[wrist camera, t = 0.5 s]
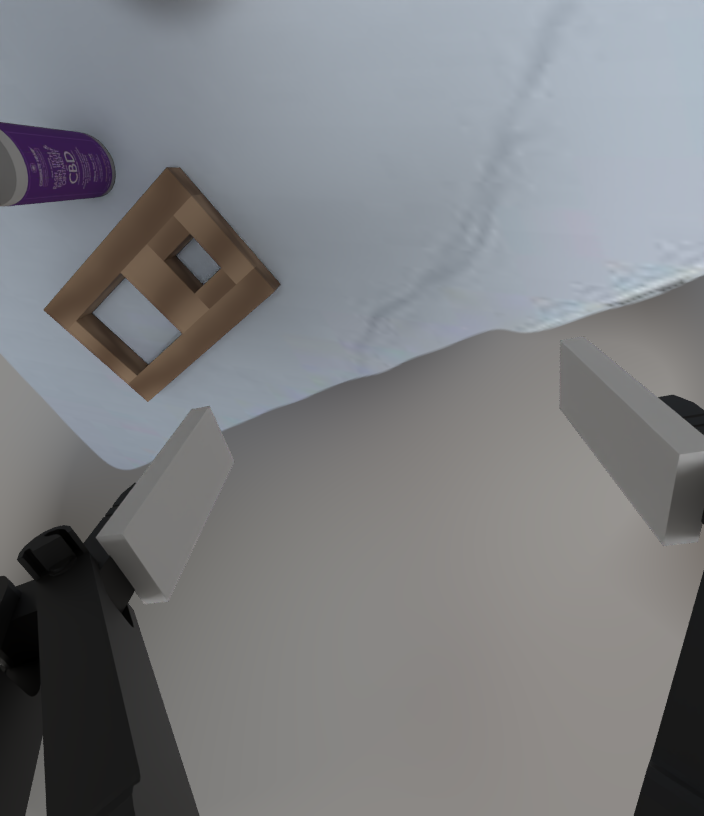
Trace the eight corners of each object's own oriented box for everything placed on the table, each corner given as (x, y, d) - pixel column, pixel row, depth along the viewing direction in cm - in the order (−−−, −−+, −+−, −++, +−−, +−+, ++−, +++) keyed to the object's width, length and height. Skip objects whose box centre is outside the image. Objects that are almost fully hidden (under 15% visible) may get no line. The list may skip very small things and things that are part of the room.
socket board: (61, 302, 41) (43, 309, 39) (180, 167, 35) (166, 167, 33) (159, 390, 45) (147, 401, 43) (280, 284, 39) (274, 291, 37)
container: (127, 183, 36) (-19, 190, 22) (83, 206, 37) (-80, 227, 24) (90, 121, 33) (-93, 89, 20) (46, 148, 35) (-156, 134, 22)
